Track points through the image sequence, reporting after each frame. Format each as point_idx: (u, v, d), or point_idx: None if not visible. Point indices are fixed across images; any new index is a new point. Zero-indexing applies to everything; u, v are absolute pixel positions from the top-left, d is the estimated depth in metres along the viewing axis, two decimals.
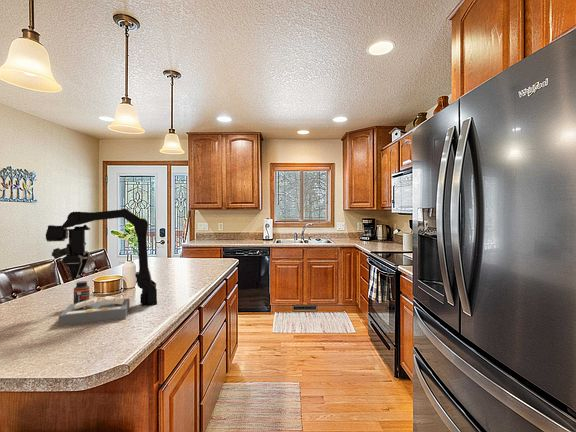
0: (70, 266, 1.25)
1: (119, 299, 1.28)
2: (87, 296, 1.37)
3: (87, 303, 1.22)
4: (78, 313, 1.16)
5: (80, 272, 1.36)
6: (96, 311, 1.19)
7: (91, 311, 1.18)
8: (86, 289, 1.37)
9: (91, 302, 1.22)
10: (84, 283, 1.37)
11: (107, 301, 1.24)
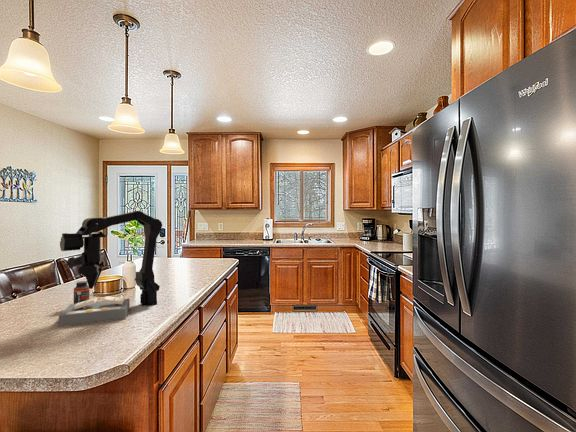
0: (87, 275, 1.20)
1: (119, 299, 1.28)
2: (87, 296, 1.37)
3: (87, 303, 1.22)
4: (78, 313, 1.16)
5: (94, 283, 1.27)
6: (96, 311, 1.19)
7: (91, 311, 1.18)
8: (86, 289, 1.37)
9: (91, 302, 1.22)
10: (84, 283, 1.37)
11: (107, 301, 1.24)
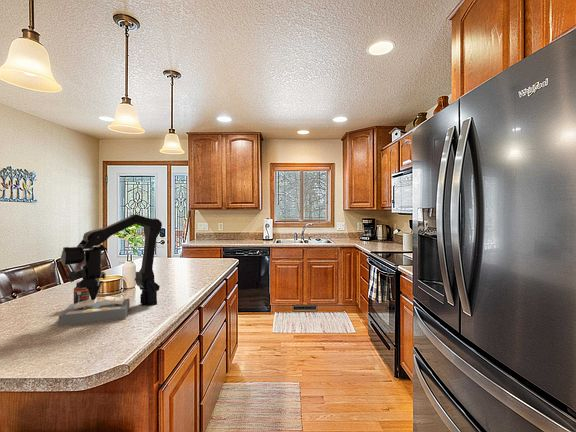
0: (89, 287, 1.22)
1: (119, 299, 1.28)
2: (87, 296, 1.37)
3: (87, 303, 1.22)
4: (78, 313, 1.16)
5: None
6: (96, 311, 1.19)
7: (91, 311, 1.18)
8: (86, 289, 1.37)
9: (91, 302, 1.22)
10: None
11: (107, 301, 1.24)
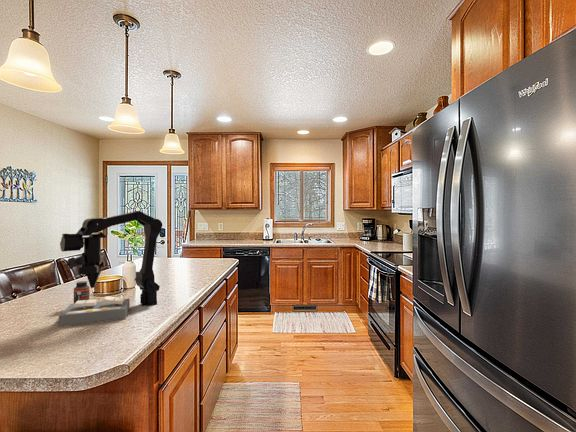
0: (88, 274, 1.22)
1: (119, 299, 1.28)
2: (87, 296, 1.37)
3: (87, 304, 1.22)
4: (78, 313, 1.16)
5: None
6: (96, 311, 1.19)
7: (91, 311, 1.18)
8: (86, 289, 1.37)
9: (91, 304, 1.22)
10: (84, 283, 1.37)
11: (107, 301, 1.24)
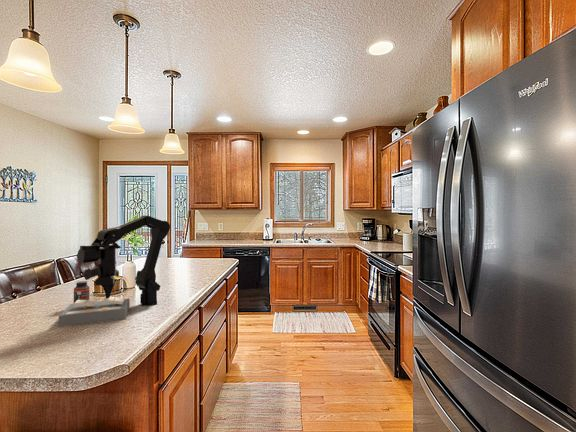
0: (104, 285, 1.24)
1: (119, 299, 1.28)
2: (87, 296, 1.37)
3: (87, 304, 1.22)
4: (78, 313, 1.16)
5: None
6: (96, 311, 1.19)
7: (91, 311, 1.18)
8: (86, 289, 1.37)
9: (91, 304, 1.22)
10: (84, 283, 1.37)
11: (107, 301, 1.24)
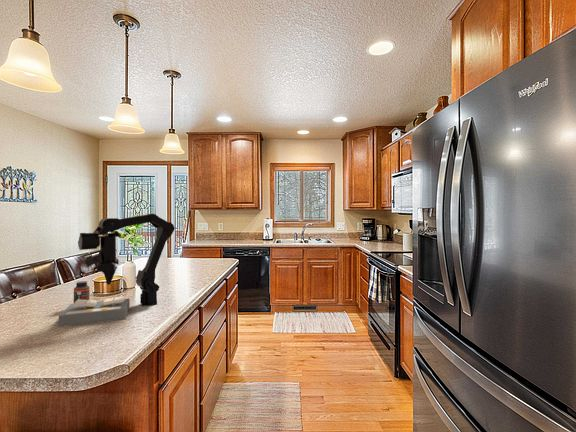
0: (105, 272, 1.28)
1: (119, 298, 1.28)
2: (87, 296, 1.37)
3: (87, 304, 1.22)
4: (78, 313, 1.16)
5: None
6: (96, 311, 1.19)
7: (91, 311, 1.18)
8: (86, 289, 1.37)
9: (91, 305, 1.22)
10: (84, 283, 1.37)
11: (107, 303, 1.24)
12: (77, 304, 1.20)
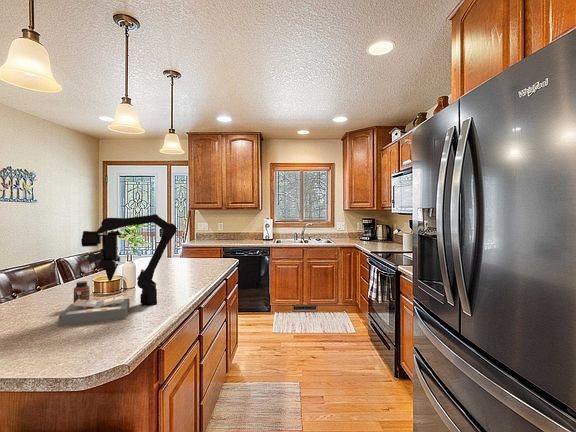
0: (106, 269, 1.34)
1: (118, 297, 1.28)
2: (87, 296, 1.37)
3: (87, 304, 1.22)
4: (78, 313, 1.16)
5: None
6: (96, 311, 1.19)
7: (91, 311, 1.18)
8: (86, 289, 1.37)
9: (91, 305, 1.22)
10: (84, 283, 1.37)
11: (107, 303, 1.24)
12: (77, 304, 1.20)
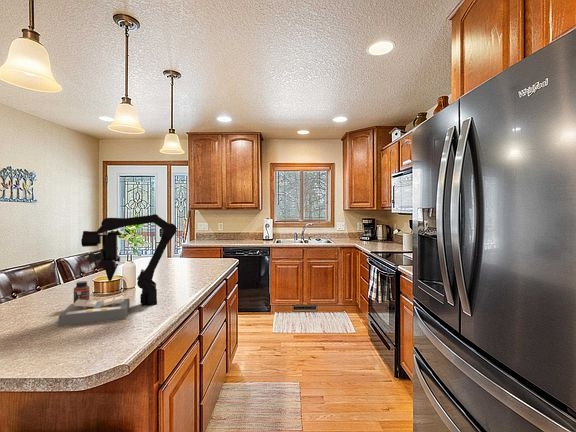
0: (106, 269, 1.34)
1: (118, 297, 1.28)
2: (87, 296, 1.37)
3: (87, 304, 1.22)
4: (78, 313, 1.16)
5: None
6: (96, 311, 1.19)
7: (91, 311, 1.18)
8: (86, 289, 1.37)
9: (91, 305, 1.22)
10: (84, 283, 1.37)
11: (107, 303, 1.24)
12: (77, 304, 1.20)
